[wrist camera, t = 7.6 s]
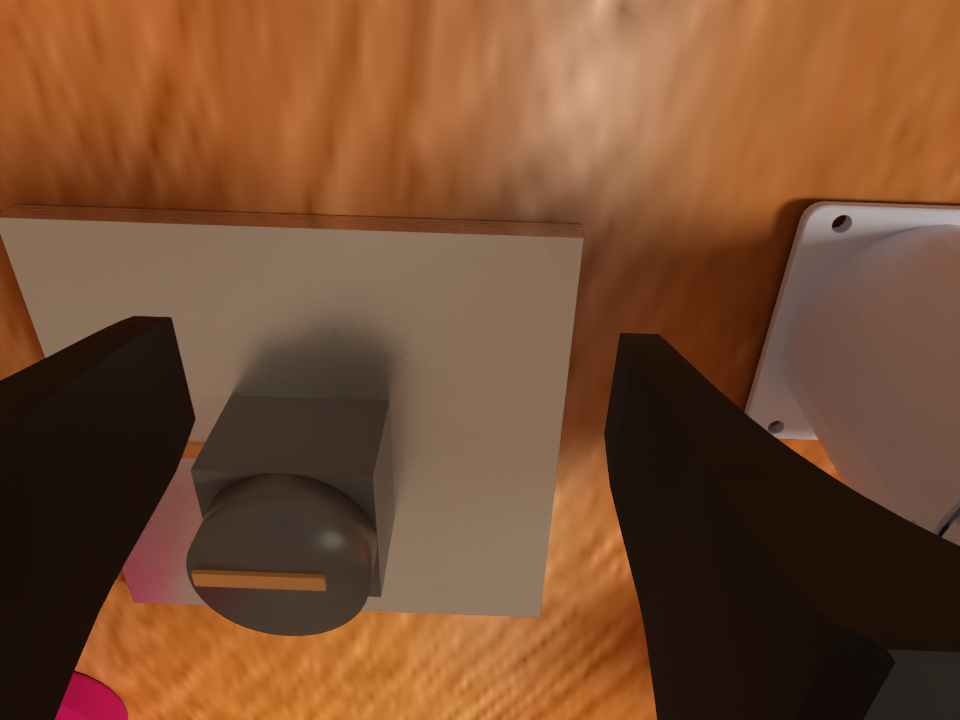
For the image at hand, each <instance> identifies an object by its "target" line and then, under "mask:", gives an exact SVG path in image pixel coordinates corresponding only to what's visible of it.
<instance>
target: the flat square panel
mask: <svg viewBox="0 0 960 720" xmlns="http://www.w3.org/2000/svg"><path fill="white" fill-rule="evenodd" d="M0 235H1V237H2V240H3V243H4V246H5V248H6V251H7V254H8V257H9V259H10V262H11V265H12V268H13V270H14V273H15V276H16V279H17V281H18V284H19V287H20V290H21V292H22V295H23V298H24V301H25V303H26V306H27V309H28V312H29V314H30V317H31V320H32V323H33V325H34V328H35V331H36V334H37V337H38V339H39V342H40V345H41V348H42V350H43V353H44V356H45V358H47V357H49V356H51V355H52V354H54V353H56V352H58V351H60V350H62V349H64V348H66V347H68V346H70V345H72V344H74V343H76V342H78V341H80V340H82V339H84V338H86V337H88V336H90V335H91V334H93V333H95V332H98V331H100V330H102V329H104V328H106V327H108V326H110V325H112V324H114V323H117V322H119V321H121V320H124V319H127V318H129V317H132V316H154V317H172V322H173V326H174V330H175V334H176V338H177V343H178V347H179V351H180V355H181V359H182V363H183V368H184V372H185V376H186V380H187V384H188V389H189V393H190V397H191V401H192V405H193V410H194V414H195V418H196V420H195V423H194V425H193V428H192V431H191V434H190V437H189V440H188V442H187V445H186V448H185V451H184V453H183V456H182V458H181V461H180V463H179V466H178V468H177V471H176V473H175V474H174V476H173V478H172V480H171V482H170V484H169V486H168V487H167V489H166V491H165V493H164V495H163V497H162V498H161V500H160V502H159V504H158V506H157V507H156V509H155V511H154V513H153V515H152V516H151V518H150V520H149V522H148V523H147V525H146V527H145V529H144V530H143V532H142V534H141V536H140V538H139V539H138V541H137V543H136V545H135V546H134V548H133V550H132V552H131V553H130V555H129V557H128V559H127V561H126V562H125V564H124V566H123V568H122V571H123V574H124V576H125V579H126V582H127V585H128V587H129V590H130V593H131V596H132V598H133V601H134V603H159V604H186V605H207V604H206V603H205V602H204V601H203V600H202V599H201V598H200V597H199V595H198V594H197V593H196V591H195V590H194V588H193V586H192V585H191V583H190V580H189V577H188V574H187V569H186V558H187V554H188V550H189V548H190V546H191V544H192V541H193V539H194V537H195V535H196V533H197V531H198V529H199V527H200V525H201V523H202V521H203V518H202V514H201V510H200V506H199V502H198V498H197V494H196V491H195V487H194V483H193V479H192V475H191V471H190V470H191V468H192V466H193V464H194V462H195V460H196V458H197V457H198V455H199V453H200V451H201V449H202V447H203V446H204V444H205V442H206V440H207V438H208V436H209V435H210V433H211V431H212V429H213V427H214V425H215V423H216V422H217V420H218V418H219V416H220V414H221V412H222V411H223V409H224V407H225V405H226V403H227V401H228V399H229V398H230V396H231V395H241V396H267V397H294V398H320V399H347V400H373V401H390V422H391V443H392V464H393V485H394V506H395V518H394V524H393V530H392V536H391V542H390V548H389V554H388V560H387V566H386V572H385V578H384V584H383V589H382V595H381V597H368V598H367V601H366V603H365V605H364V606H363V608H362V609H361V611H379V612H406V613H434V614H462V615H489V616H517V617H540V612H541V603H542V594H543V586H544V577H545V568H546V560H547V551H548V542H549V534H550V525H551V517H552V508H553V499H554V491H555V482H556V473H557V465H558V456H559V447H560V439H561V430H562V421H563V413H564V404H565V396H566V387H567V378H568V370H569V361H570V352H571V344H572V335H573V326H574V318H575V309H576V301H577V292H578V283H579V275H580V266H581V257H582V249H583V240H584V237H583V233H582V229H581V226H580V224H564V223H535V222H507V221H478V220H449V219H421V218H392V217H364V216H335V215H306V214H278V213H249V212H221V211H192V210H163V209H135V208H106V207H78V206H49V205H20V204H15V205H14V206H12V207H10V208H9V209H7V210H6V211H4V212H2V213H1V214H0ZM348 496H349V495H348Z"/></svg>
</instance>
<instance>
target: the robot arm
mask: <svg viewBox="0 0 960 720" xmlns="http://www.w3.org/2000/svg"><path fill="white" fill-rule="evenodd" d="M841 215H846V219H845V221H844V223H843V224H842V225H840V226H839V227H835V228H832V223H833V221H834V220H835V219H836V218H837V217H839V216H841ZM195 420H196V418H195V414H194V410H193V405H192V401H191V397H190V393H189V389H188V384H187V380H186V376H185V372H184V368H183V363H182V359H181V355H180V351H179V347H178V343H177V338H176V334H175V330H174V326H173V322H172V317H154V316H132V317H129V318H127V319H124V320H121V321H119V322H117V323H114V324H112V325H110V326H108V327H106V328H104V329H102V330H100V331H98V332H95V333H93V334H91V335H90V336H88V337H86V338H84V339H82V340H80V341H78V342H76V343H74V344H72V345H70V346H68V347H66V348H64V349H62V350H60V351H58V352H56V353H54V354H52V355H51V356H49V357H47V358H45V359H43V360H41V361H39V362H37V363H35V364H33V365H31V366H29V367H27V368H25V369H23V370H21V371H19V372H17V373H15V374H13V375H11V376H9V377H7V378H5V379H3V380H1V381H0V720H55V718H56V716H57V713H58V710H59V708H60V705H61V703H62V700H63V698H64V695H65V693H66V690H67V687H68V685H69V682H70V680H71V677H72V675H73V672H74V670H75V667H76V665H77V663H78V660H79V658H80V656H81V653H82V651H83V648H84V646H85V644H86V641H87V639H88V637H89V634H90V632H91V630H92V627H93V625H94V623H95V620H96V618H97V616H98V613H99V611H100V609H101V607H102V605H103V603H104V601H105V599H106V597H107V595H108V593H109V591H110V589H111V587H112V585H113V584H114V582H115V580H116V578H117V576H118V575H119V573H120V571H121V569H122V568H123V566H124V564H125V562H126V561H127V559H128V557H129V555H130V553H131V552H132V550H133V548H134V546H135V545H136V543H137V541H138V539H139V538H140V536H141V534H142V532H143V530H144V529H145V527H146V525H147V523H148V522H149V520H150V518H151V516H152V515H153V513H154V511H155V509H156V507H157V506H158V504H159V502H160V500H161V498H162V497H163V495H164V493H165V491H166V489H167V487H168V486H169V484H170V482H171V480H172V478H173V476H174V474H175V473H176V471H177V468H178V466H179V463H180V461H181V458H182V456H183V453H184V451H185V448H186V445H187V442H188V440H189V437H190V434H191V431H192V428H193V425H194V423H195ZM774 421H779V423H778V424H776V425H774V426H769V424H770V423H772V422H774ZM604 435H605V445H606V455H607V464H608V473H609V481H610V488H611V492H612V496H613V500H614V504H615V508H616V512H617V516H618V520H619V525H620V529H621V533H622V536H623V540H624V544H625V548H626V552H627V556H628V560H629V564H630V568H631V572H632V576H633V580H634V584H635V588H636V592H637V596H638V600H639V603H640V608H641V613H642V618H643V623H644V628H645V633H646V640H647V647H648V655H649V662H650V669H651V676H652V683H653V690H654V697H655V705H656V713H657V720H960V206H947V205H918V204H889V203H861V202H832V201H822V202H816V203H814V204H812V205H810V206H809V207H808V208H807V209H806V210H805V211H804V212H803V214H802V216H801V218H800V221H799V225H798V228H797V232H796V235H795V239H794V242H793V246H792V249H791V253H790V256H789V259H788V263H787V266H786V270H785V273H784V277H783V280H782V284H781V287H780V291H779V294H778V297H777V301H776V304H775V308H774V311H773V315H772V318H771V322H770V325H769V329H768V332H767V336H766V339H765V342H764V346H763V349H762V353H761V356H760V360H759V363H758V367H757V370H756V374H755V377H754V380H753V384H752V387H751V391H750V394H749V398H748V401H747V405H746V408H745V412H743V411H742V410H741V409H740V408H738V407H737V406H736V405H735V404H734V403H733V402H731V401H730V400H729V399H728V398H727V397H726V396H725V395H724V394H722V393H721V392H720V391H719V390H718V389H717V388H716V387H715V386H714V385H712V384H711V383H710V382H709V381H708V380H707V379H706V378H705V377H704V376H703V375H702V374H701V373H700V372H698V371H697V370H696V369H695V368H694V367H693V366H692V365H691V364H690V363H689V362H688V361H687V360H686V359H685V358H684V357H683V356H682V355H681V354H680V353H678V352H677V351H676V350H675V349H674V348H673V347H672V346H671V345H670V344H669V343H668V342H667V341H666V340H665V339H663V338H662V337H661V336H660V335H659V334H635V333H620V338H619V344H618V350H617V357H616V363H615V369H614V376H613V382H612V388H611V395H610V401H609V407H608V414H607V420H606V426H605V433H604ZM777 438H779V439H808V440H819V441H820V443H821V445H822V446H823V448H824V450H825V451H826V453H827V455H828V456H829V458H830V460H831V461H832V463H833V465H834V466H835V468H836V470H837V471H838V473H839V475H840V476H841V478H842V480H843V482H844V483H845V484H843V483H841V482H840V481H838V480H837V479H835V478H833V477H832V476H830V475H829V474H827V473H826V472H824V471H823V470H821V469H820V468H818V467H817V466H815V465H814V464H812V463H811V462H809V461H808V460H806V459H805V458H803V457H802V456H800V455H799V454H797V453H796V452H795V451H793V450H792V449H790V448H789V447H788V446H786V445H785V444H784V443H782V442H781V441H780V440H778V439H777Z"/></svg>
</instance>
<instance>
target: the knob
mask: <svg viewBox="0 0 960 720" xmlns="http://www.w3.org/2000/svg"><path fill="white" fill-rule="evenodd" d="M190 471H191V475H192V479H193V483H194V487H195V491H196V494H197V498H198V502H199V506H200V510H201V514H202V518H203V521H202V523H201V525H200V527H199V529H198V531H197V533H196V535H195V537H194V539H193V541H192V544H191V546H190V548H189V550H188V554H187V558H186V569H187V574H188V577H189V580H190V583H191V585H192V586H193V588H194V590H195V591H196V593H197V594H198V595H199V597H200V598H201V599H202V600H203V601H204V602H205V603H206V604H207V605H208V606H209V607H211V608H212V609H213V610H214V611H216V612H217V613H219V614H220V615H222V616H223V617H225V618H227V619H228V620H230V621H232V622H234V623H236V624H239V625H241V626H244V627H246V628H249V629H252V630H255V631H259V632H264V633H268V634H275V635H284V636H305V635H313V634H319V633H323V632H327V631H330V630H333V629H335V628H338V627H340V626H342V625H344V624H345V623H347V622H349V621H350V620H351V619H353V618H354V617H355V616H356V615H357V614H358V613H359V612H360V611H361V609H362V608H363V606H364V605H365V603H366V601H367V598H368V597H381V595H382V589H383V584H384V578H385V572H386V566H387V560H388V554H389V548H390V542H391V536H392V530H393V524H394V518H395V506H394V485H393V464H392V443H391V422H390V401H373V400H347V399H320V398H294V397H267V396H241V395H231V396H230V398H229V399H228V401H227V403H226V405H225V407H224V409H223V411H222V412H221V414H220V416H219V418H218V420H217V422H216V423H215V425H214V427H213V429H212V431H211V433H210V435H209V436H208V438H207V440H206V442H205V444H204V446H203V447H202V449H201V451H200V453H199V455H198V457H197V458H196V460H195V462H194V464H193V466H192V468H191V470H190ZM348 495H349V496H348Z"/></svg>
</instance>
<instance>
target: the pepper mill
mask: <svg viewBox="0 0 960 720" xmlns="http://www.w3.org/2000/svg"><path fill="white" fill-rule="evenodd" d="M55 720H128V715H127V710H126V707H125V705H124V703H123V701H122V700H121V699H120V698H119V697H118V696H117V695H116V694H115V693H114V692H113V691H112V690H111V689H109V688H108V687H106V686H105V685H103V684H102V683H100V682H98V681H96V680H94V679H92V678H90V677H88V676H85V675H82V674H79V673H76V672H73V675H72V677H71V680H70V682H69V685H68V687H67V690H66V693H65V695H64V698H63V700H62V703H61V705H60V708H59V710H58V713H57V716H56V718H55Z"/></svg>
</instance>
